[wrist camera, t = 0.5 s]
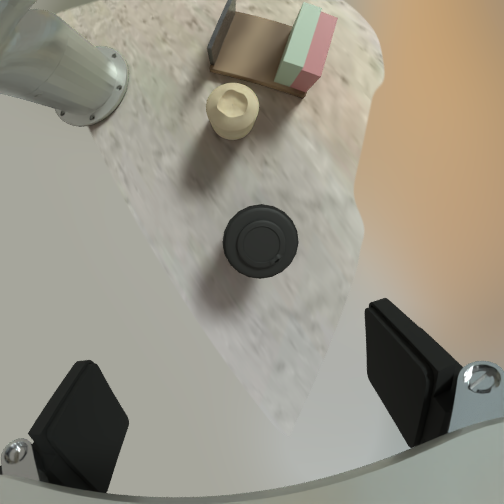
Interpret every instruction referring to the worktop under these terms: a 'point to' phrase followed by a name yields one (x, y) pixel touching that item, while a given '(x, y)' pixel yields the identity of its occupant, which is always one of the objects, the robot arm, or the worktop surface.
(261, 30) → the brown wooden board
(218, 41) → the bookend
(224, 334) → the worktop surface
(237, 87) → the candle
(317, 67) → the books
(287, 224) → the coffee cup
